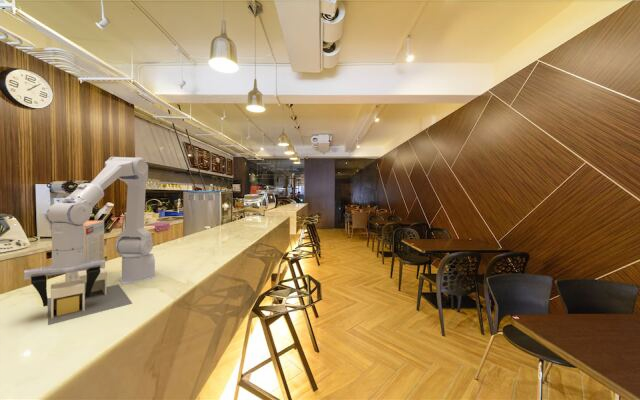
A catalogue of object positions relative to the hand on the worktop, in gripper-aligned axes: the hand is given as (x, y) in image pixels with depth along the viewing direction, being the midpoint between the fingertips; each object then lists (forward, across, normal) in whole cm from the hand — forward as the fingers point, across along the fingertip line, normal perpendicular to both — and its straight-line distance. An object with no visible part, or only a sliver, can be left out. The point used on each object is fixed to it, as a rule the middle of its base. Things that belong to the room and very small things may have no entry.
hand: (67, 300), depth 64 cm
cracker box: (+3, +6, +26) cm, 27 cm away
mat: (+3, +5, +4) cm, 7 cm away
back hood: (+3, +6, +9) cm, 11 cm away
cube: (+3, 0, 0) cm, 3 cm away
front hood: (+3, 0, 0) cm, 3 cm away
